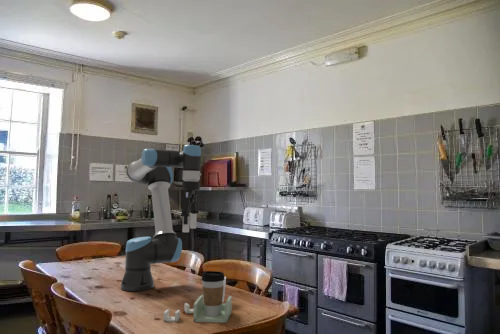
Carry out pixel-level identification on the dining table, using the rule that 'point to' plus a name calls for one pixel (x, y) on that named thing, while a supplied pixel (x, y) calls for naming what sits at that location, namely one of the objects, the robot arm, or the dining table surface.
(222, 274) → the coffee cup
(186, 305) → the clip
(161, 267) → the dining table surface
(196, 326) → the dining table surface
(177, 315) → the clip
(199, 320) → the holder
